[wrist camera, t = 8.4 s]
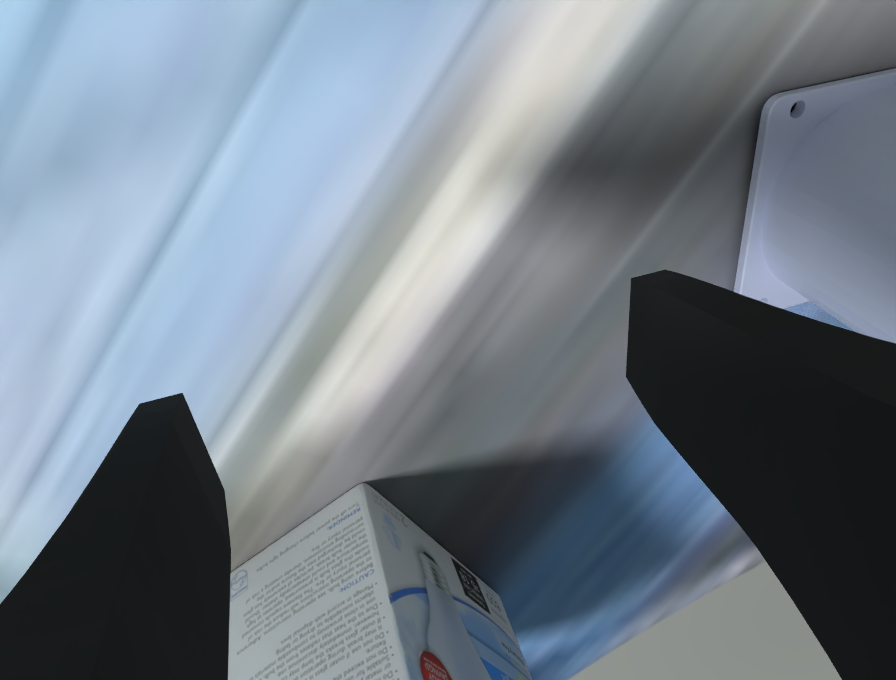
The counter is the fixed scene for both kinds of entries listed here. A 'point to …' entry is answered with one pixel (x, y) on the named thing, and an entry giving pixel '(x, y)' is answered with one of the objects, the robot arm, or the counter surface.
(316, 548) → the light bulb box
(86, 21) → the counter surface
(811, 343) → the robot arm
